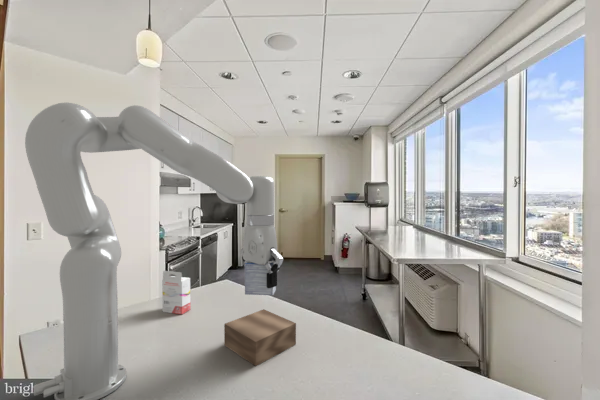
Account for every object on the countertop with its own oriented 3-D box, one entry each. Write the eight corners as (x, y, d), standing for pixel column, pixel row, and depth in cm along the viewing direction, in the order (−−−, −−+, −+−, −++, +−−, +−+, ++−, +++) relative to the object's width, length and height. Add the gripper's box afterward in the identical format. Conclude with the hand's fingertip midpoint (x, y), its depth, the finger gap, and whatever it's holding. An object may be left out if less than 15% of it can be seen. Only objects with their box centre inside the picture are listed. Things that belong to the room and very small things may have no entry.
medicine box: (276, 290, 81) (276, 260, 81) (273, 296, 77) (273, 264, 77) (248, 289, 82) (248, 259, 82) (244, 295, 78) (244, 263, 77)
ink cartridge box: (191, 309, 104) (191, 269, 104) (181, 315, 99) (181, 272, 99) (171, 306, 106) (171, 267, 106) (161, 312, 102) (161, 270, 101)
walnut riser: (255, 366, 70) (255, 341, 70) (224, 345, 79) (224, 323, 79) (295, 344, 80) (295, 323, 80) (263, 328, 89) (263, 309, 89)
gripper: (231, 220, 82) (231, 279, 83) (270, 224, 70) (270, 294, 71) (252, 218, 88) (252, 274, 88) (292, 222, 76) (292, 287, 76)
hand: (260, 283), depth 79 cm, fingers closed on medicine box, 9 cm apart
